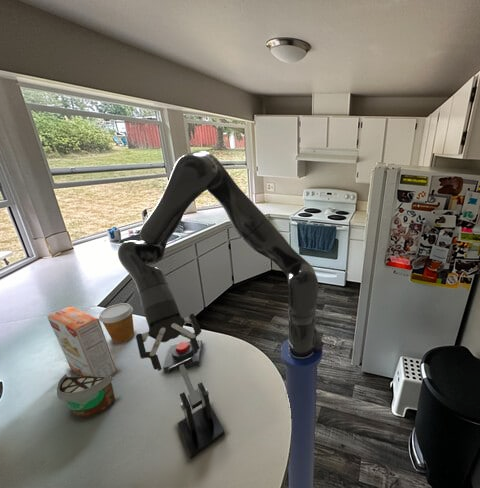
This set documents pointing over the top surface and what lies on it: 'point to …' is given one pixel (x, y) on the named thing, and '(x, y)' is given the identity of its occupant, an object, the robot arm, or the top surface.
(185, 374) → the lever
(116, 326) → the orange tub white lid
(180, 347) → the button
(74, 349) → the cracker box
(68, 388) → the food container
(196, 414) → the bracket
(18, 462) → the top surface
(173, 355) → the button box
